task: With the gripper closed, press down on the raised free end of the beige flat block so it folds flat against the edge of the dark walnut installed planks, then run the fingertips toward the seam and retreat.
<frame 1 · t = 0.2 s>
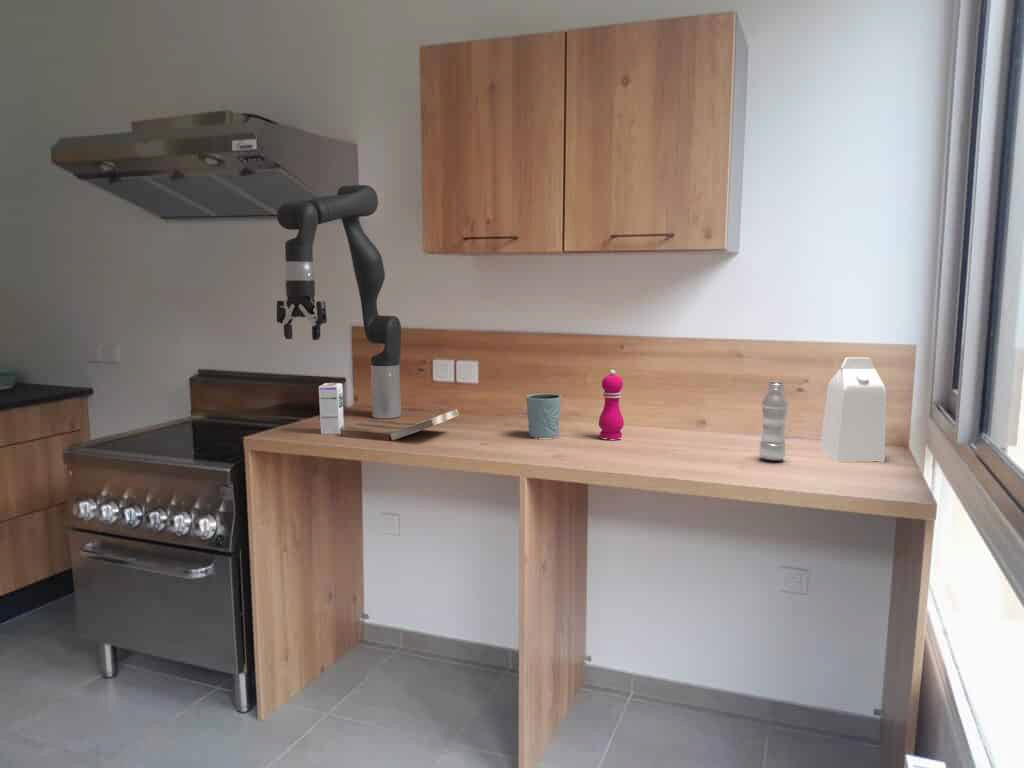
hand: (302, 339, 204), 29 cm above the table, tool pointing down, fingers open, 8 cm apart
plastic bottle: (771, 461, 193), on the table
pepper mill: (610, 438, 218), on the table
milk: (851, 457, 197), on the table
installed planks: (379, 432, 224), on the table
beige flat block: (425, 424, 218), point 4 cm above the table, hinge at 22.0°
blue planter pot: (543, 437, 220), on the table
syrup box: (332, 432, 224), on the table
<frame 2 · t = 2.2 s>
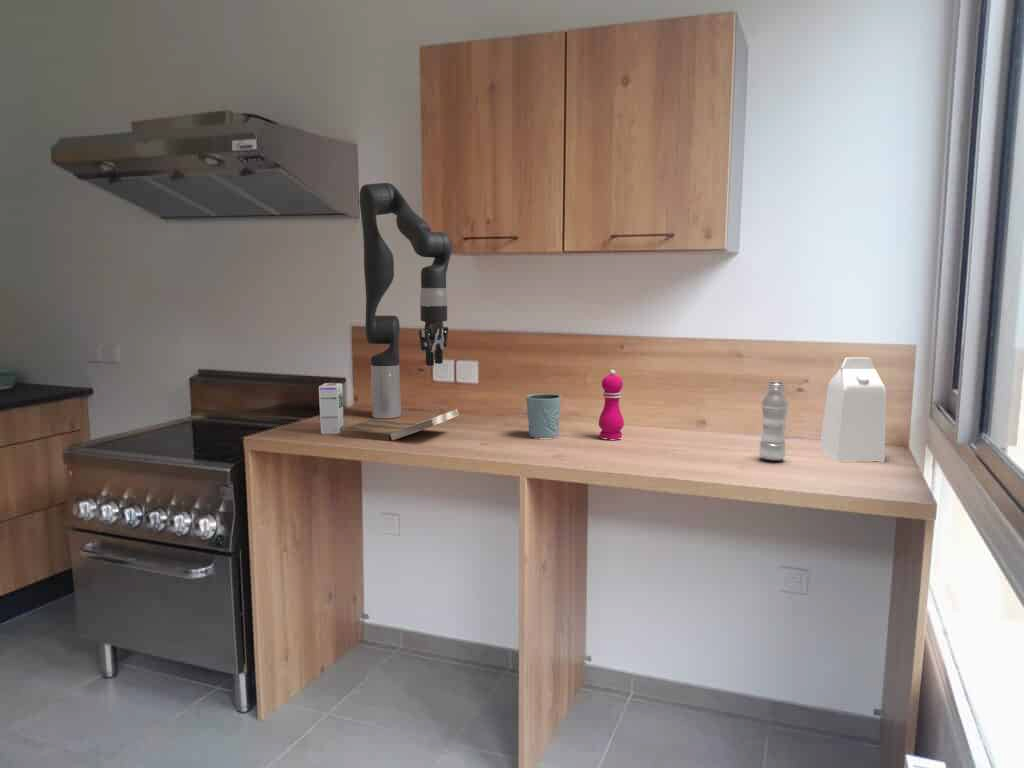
hand: (434, 364, 214), 21 cm above the table, tool pointing down, fingers open, 5 cm apart
nothing on the table moved.
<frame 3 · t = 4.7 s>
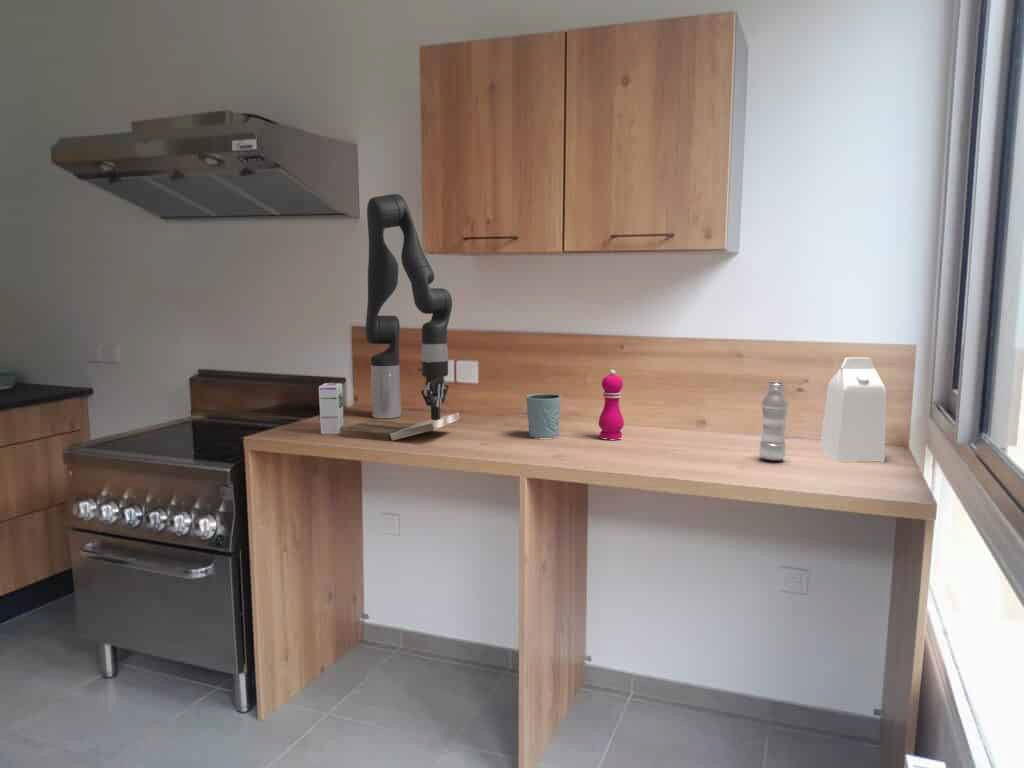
hand: (435, 419, 216), 5 cm above the table, tool pointing down, fingers closed
beige flat block: (425, 426, 218), point 3 cm above the table, hinge at 17.5°, touching gripper
everything else where it was.
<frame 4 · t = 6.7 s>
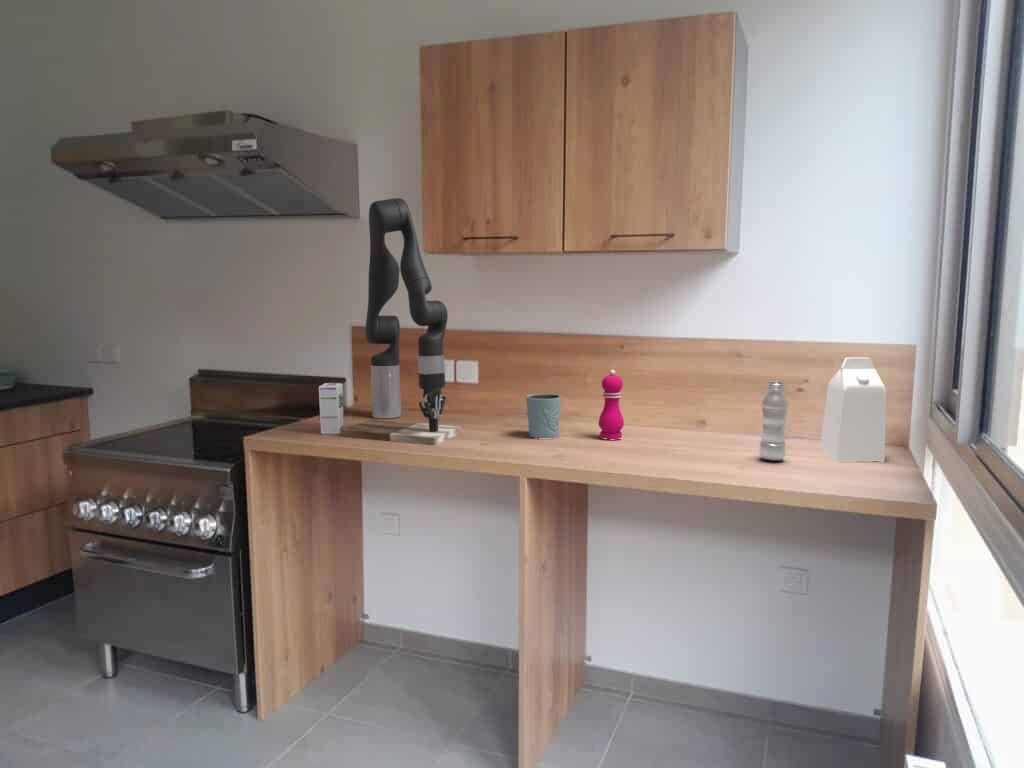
hand: (433, 431, 216), 2 cm above the table, tool pointing down, fingers closed
beige flat block: (425, 433, 218), point 1 cm above the table, hinge at -0.1°, touching gripper
everything else where it was.
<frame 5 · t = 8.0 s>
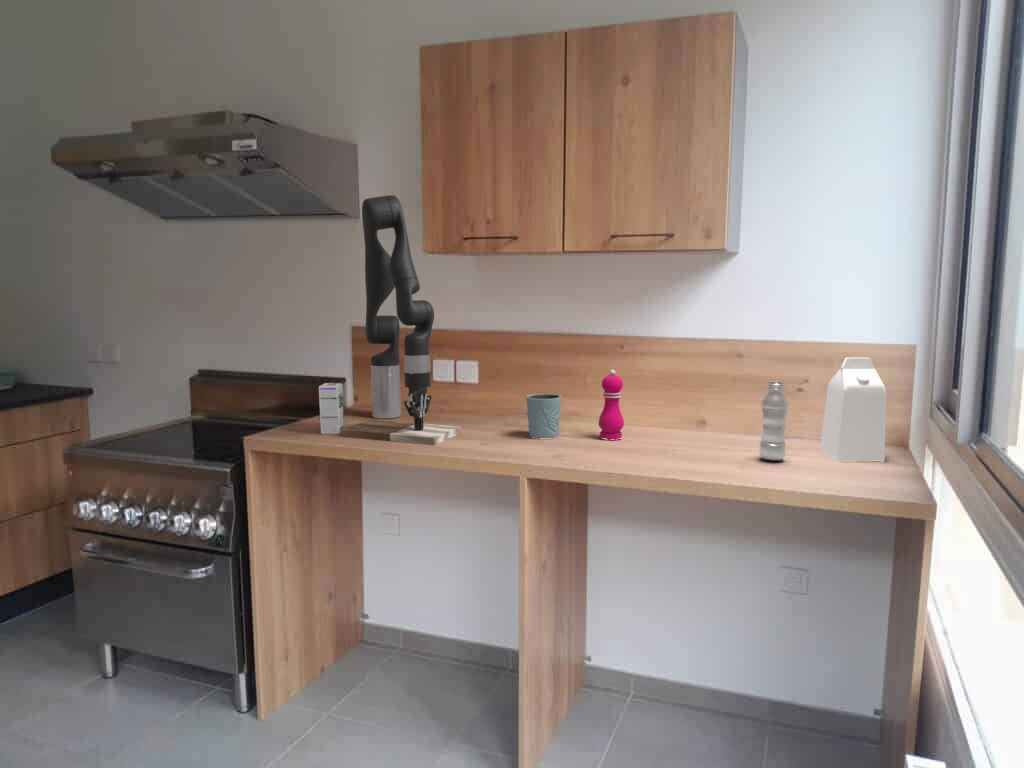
hand: (419, 429, 218), 2 cm above the table, tool pointing down, fingers closed
nothing on the table moved.
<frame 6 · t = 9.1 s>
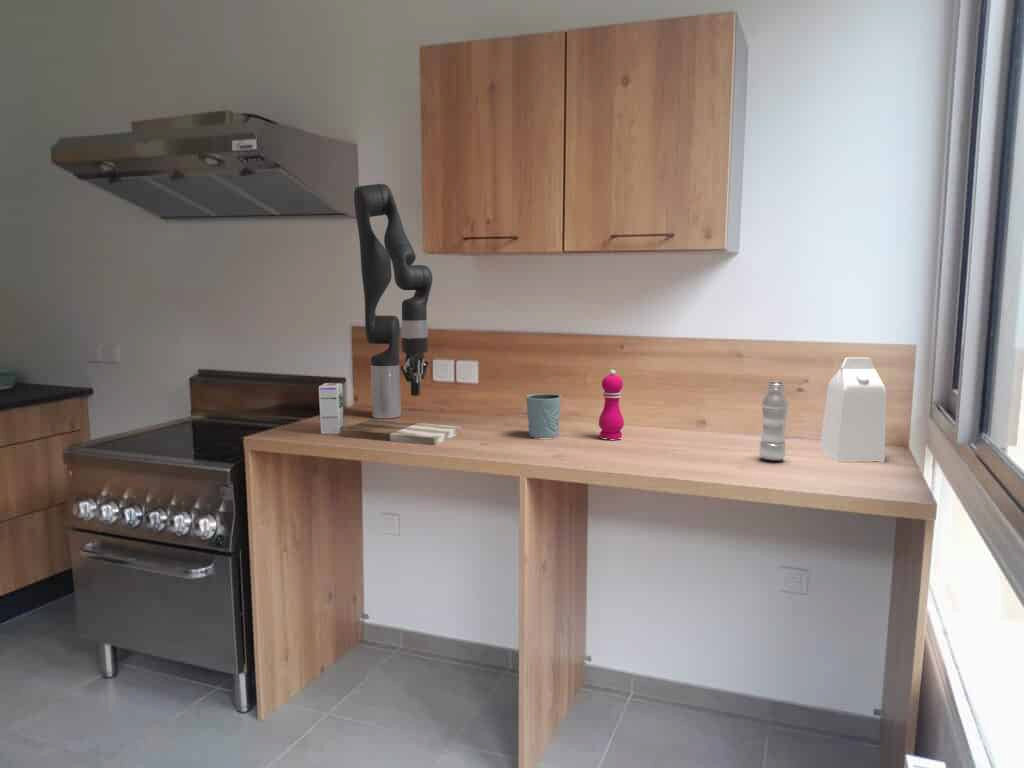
hand: (415, 395, 218), 12 cm above the table, tool pointing down, fingers closed
beige flat block: (425, 433, 218), point 1 cm above the table, hinge at -0.1°
everything else where it was.
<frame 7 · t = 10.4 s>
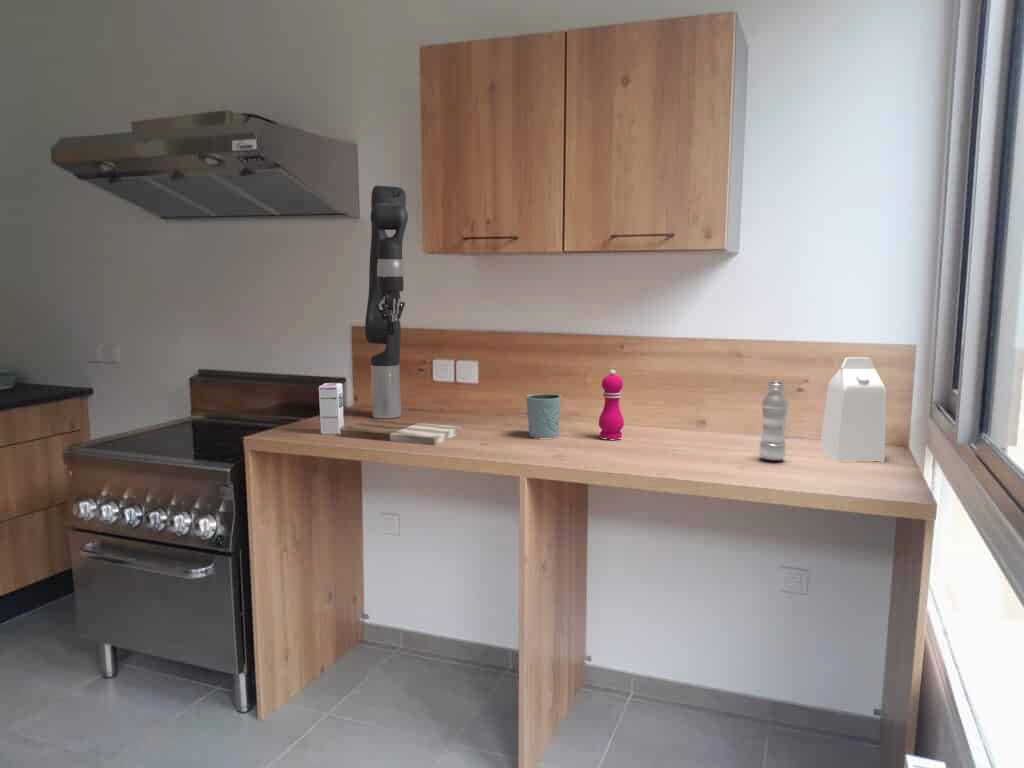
hand: (391, 334, 222), 29 cm above the table, tool pointing down, fingers closed
nothing on the table moved.
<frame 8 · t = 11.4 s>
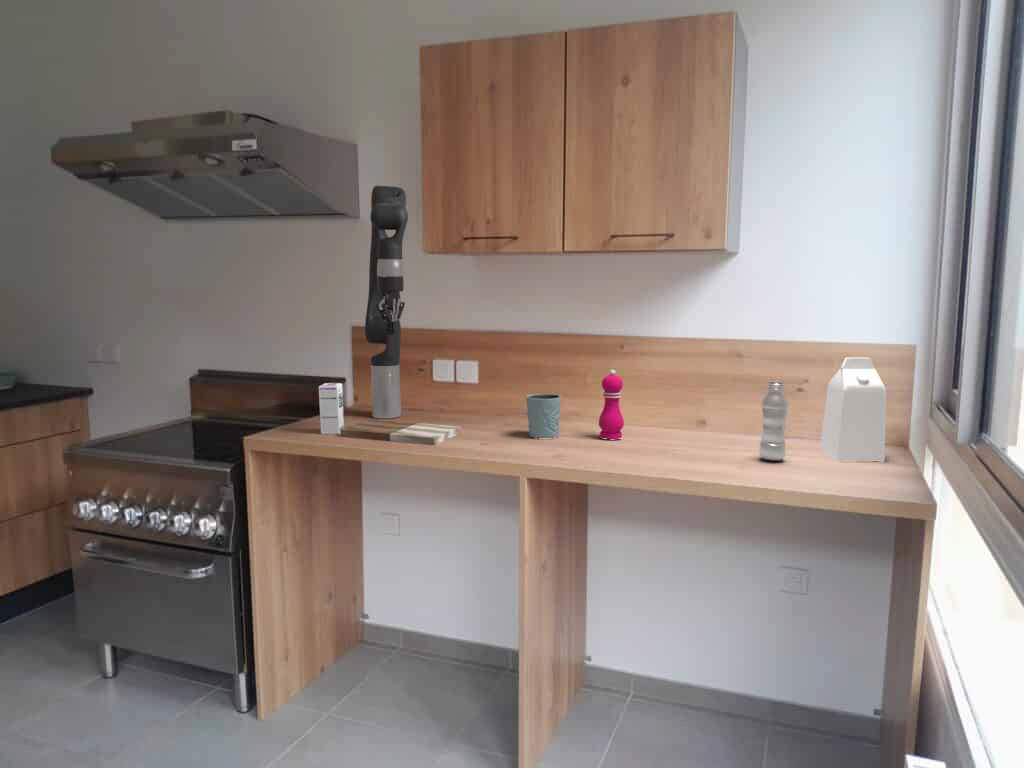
hand: (391, 334, 222), 29 cm above the table, tool pointing down, fingers closed
nothing on the table moved.
at the end: beige flat block at +0° (first picture: +22°); syrup box moved 0.2 cm from its start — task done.
